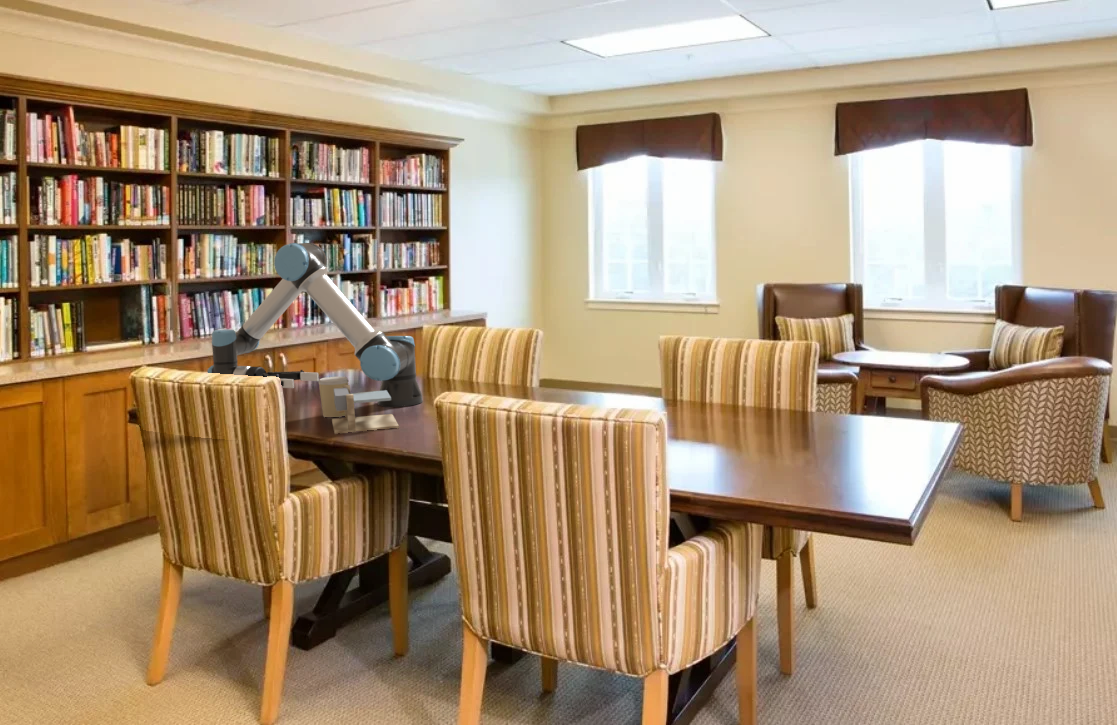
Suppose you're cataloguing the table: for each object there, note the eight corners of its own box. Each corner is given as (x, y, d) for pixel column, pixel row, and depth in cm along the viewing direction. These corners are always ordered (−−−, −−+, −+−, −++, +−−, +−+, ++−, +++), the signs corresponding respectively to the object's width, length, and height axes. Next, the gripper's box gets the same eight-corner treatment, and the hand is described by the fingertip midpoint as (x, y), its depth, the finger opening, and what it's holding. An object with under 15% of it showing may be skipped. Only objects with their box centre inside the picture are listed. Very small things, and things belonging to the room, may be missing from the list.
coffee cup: (343, 418, 287) (340, 381, 285) (315, 418, 289) (312, 381, 287) (355, 412, 296) (353, 376, 295) (328, 412, 298) (326, 376, 296)
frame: (392, 416, 288) (390, 382, 287) (398, 428, 270) (396, 391, 269) (332, 421, 283) (329, 386, 282) (334, 433, 265) (332, 396, 264)
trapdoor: (387, 398, 284) (386, 384, 284) (391, 406, 271) (390, 391, 271) (334, 402, 280) (333, 388, 280) (336, 410, 267) (335, 396, 266)
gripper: (274, 382, 313) (328, 385, 307) (226, 395, 290) (283, 398, 283) (273, 361, 312) (326, 363, 305) (224, 372, 289) (281, 374, 282)
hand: (306, 380), depth 294 cm, fingers open, 13 cm apart
